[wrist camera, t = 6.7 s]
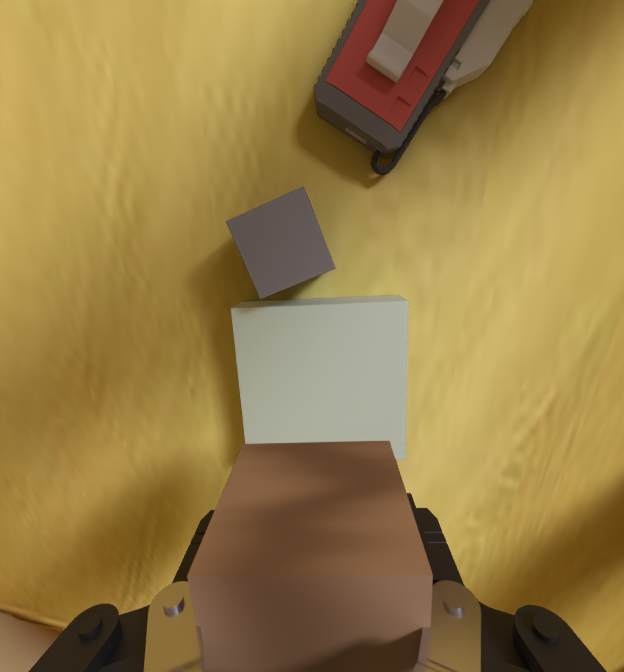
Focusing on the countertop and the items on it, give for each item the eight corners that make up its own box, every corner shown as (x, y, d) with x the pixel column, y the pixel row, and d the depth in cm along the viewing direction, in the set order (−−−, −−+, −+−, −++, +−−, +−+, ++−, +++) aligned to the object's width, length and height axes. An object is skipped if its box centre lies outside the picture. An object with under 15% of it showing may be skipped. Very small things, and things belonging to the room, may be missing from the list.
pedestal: (399, 294, 26) (408, 300, 23) (397, 438, 29) (405, 459, 26) (241, 301, 27) (230, 308, 24) (255, 441, 30) (247, 462, 27)
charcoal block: (308, 197, 25) (303, 186, 20) (333, 264, 26) (335, 268, 21) (245, 225, 26) (225, 221, 21) (272, 289, 27) (260, 299, 22)
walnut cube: (389, 440, 13) (432, 574, 8) (388, 560, 14) (425, 745, 9) (243, 443, 13) (187, 575, 8) (255, 561, 15) (215, 741, 9)
